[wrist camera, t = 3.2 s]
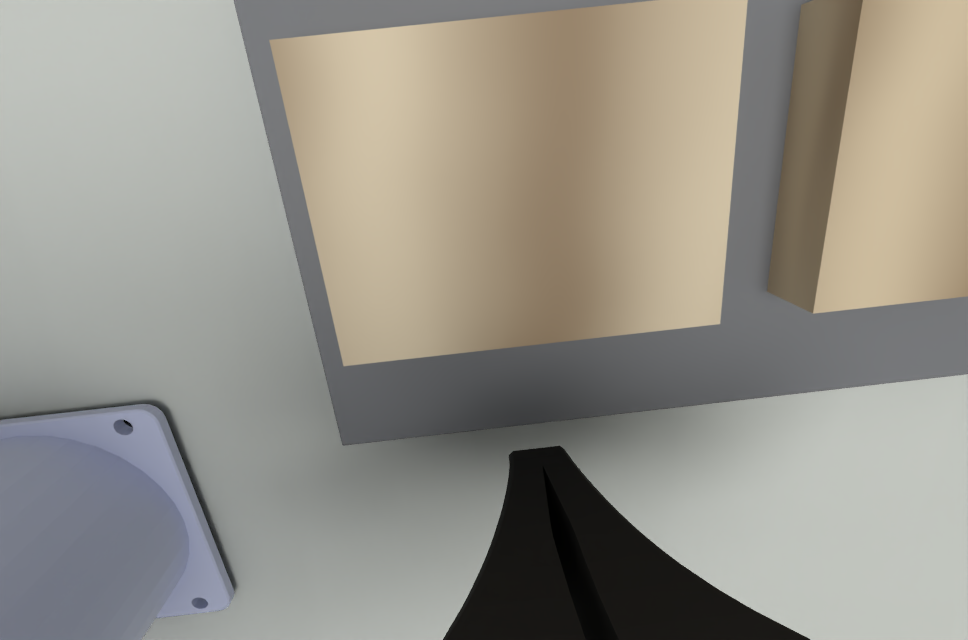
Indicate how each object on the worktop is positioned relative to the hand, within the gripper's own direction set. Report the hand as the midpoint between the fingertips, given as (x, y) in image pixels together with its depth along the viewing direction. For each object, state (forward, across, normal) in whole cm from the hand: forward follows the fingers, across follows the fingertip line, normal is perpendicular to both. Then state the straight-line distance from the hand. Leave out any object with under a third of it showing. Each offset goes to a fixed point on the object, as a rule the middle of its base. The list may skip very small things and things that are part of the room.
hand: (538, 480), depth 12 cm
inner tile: (+1, 0, -7) cm, 7 cm away
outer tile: (+1, -10, -7) cm, 12 cm away
